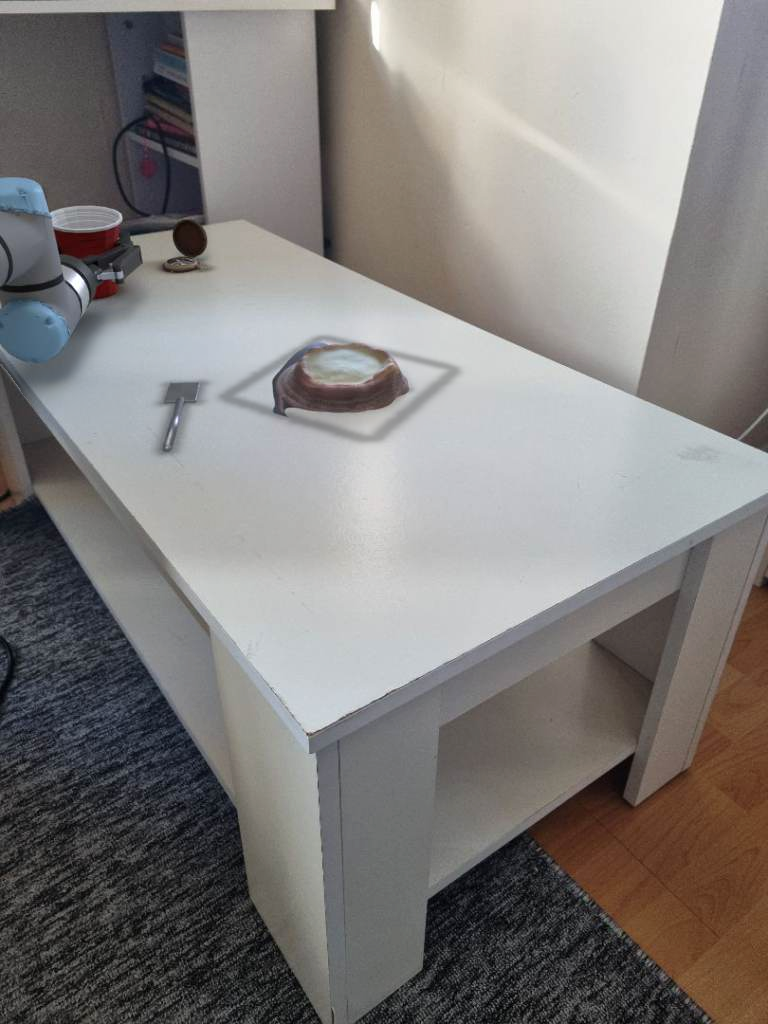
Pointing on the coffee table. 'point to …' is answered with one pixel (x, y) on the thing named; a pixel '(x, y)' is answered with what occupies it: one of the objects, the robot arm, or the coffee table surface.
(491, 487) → the coffee table surface
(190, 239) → the compass
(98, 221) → the plastic cup
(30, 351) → the robot arm
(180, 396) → the metal spatula
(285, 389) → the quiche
